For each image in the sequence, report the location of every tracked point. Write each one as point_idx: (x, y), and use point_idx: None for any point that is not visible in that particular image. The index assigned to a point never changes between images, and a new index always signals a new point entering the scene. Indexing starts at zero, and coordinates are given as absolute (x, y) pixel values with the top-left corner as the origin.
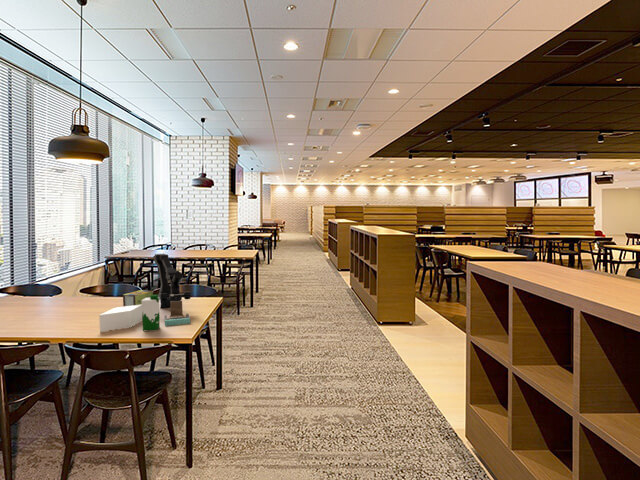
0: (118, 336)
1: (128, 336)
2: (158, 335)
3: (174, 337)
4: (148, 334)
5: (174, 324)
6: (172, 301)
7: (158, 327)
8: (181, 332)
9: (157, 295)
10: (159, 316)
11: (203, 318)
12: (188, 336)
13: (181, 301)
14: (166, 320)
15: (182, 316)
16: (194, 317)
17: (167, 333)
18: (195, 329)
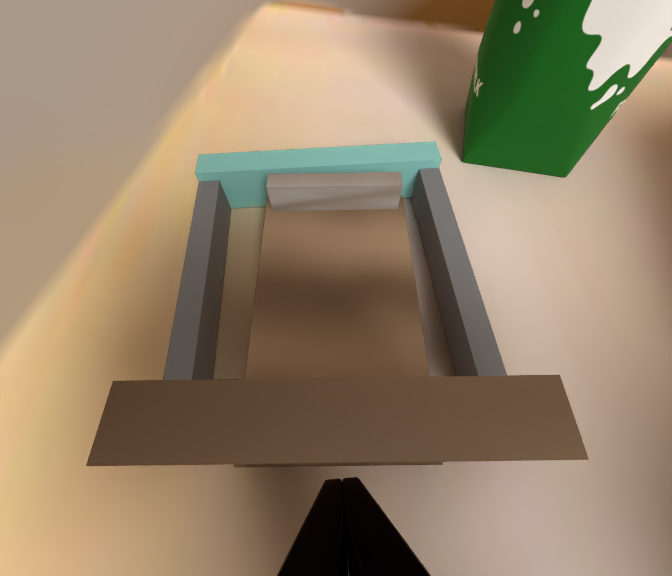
0: (663, 71)
1: None
2: (423, 45)
3: (334, 15)
4: None
5: None
6: (495, 444)
7: (464, 140)
8: (297, 56)
9: None
10: (491, 34)
11: (39, 310)
12: (266, 14)
13: (146, 380)
14: (423, 150)
15: (259, 319)
16: None
17: (377, 58)
18: (209, 77)
